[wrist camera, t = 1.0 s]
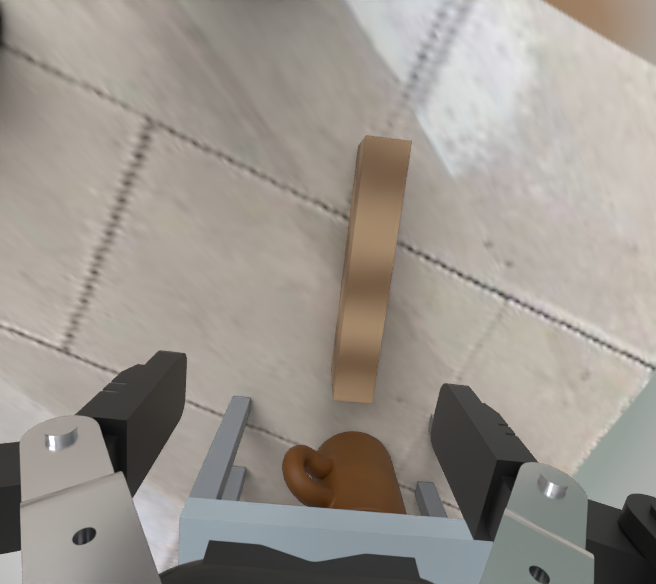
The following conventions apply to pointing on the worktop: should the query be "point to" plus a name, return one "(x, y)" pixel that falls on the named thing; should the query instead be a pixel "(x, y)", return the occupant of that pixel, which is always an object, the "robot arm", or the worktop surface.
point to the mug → (344, 475)
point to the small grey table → (321, 520)
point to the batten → (368, 265)
